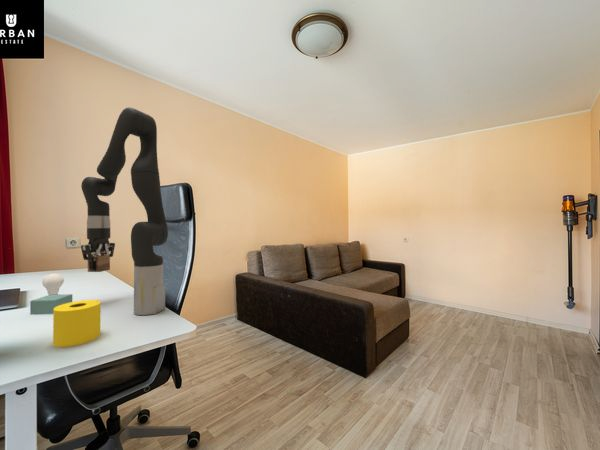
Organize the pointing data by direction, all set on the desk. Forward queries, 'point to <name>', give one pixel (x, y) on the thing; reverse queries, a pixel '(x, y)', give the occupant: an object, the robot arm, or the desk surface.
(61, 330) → the yellow holed block
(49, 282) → the light bulb
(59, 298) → the teal block
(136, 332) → the desk surface
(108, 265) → the walnut block
